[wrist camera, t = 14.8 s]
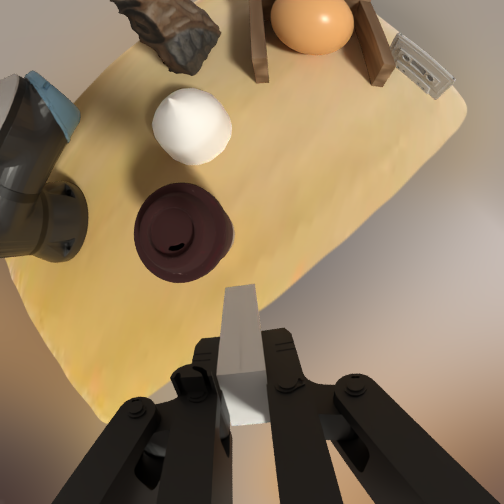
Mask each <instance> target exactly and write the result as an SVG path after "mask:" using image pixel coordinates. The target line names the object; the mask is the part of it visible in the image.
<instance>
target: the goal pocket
mask: <svg viewBox="0 0 504 504" xmlns="http://www.w3.org/2000/svg"><path fill="white" fill-rule="evenodd" d="M275 1H276V0H249V11H250V30H251V51H252V62H253V67H254V73H255V78H256V83H269V75H268V62H267V50H266V39H265V28H264V20H271V9H272V6H273V4H274V2H275ZM344 1H345V2H346V3H347V5H348V6H349V8H350V10H351V12H352V15H353V19H354V27H355V30H356V33H357V36H358V39H359V42H360V45H361V49H362V52H363V55H364V59H365V62H366V66H367V69H368V73H369V77H370V81H371V85H372V86H378V87H383V86H384V84H385V82H386V81H387V79H388V78H389V76H390V75H391V73H392V71H393V70H394V68H395V67H396V64H395V61H394V58H393V55H392V52H391V50H390V47H389V44H388V42H387V39H386V36H385V34H384V32H383V29H382V27H381V24H380V22H379V20H378V17H377V15H376V13H375V11H374V9H373V6H372V4H371V0H344Z"/></svg>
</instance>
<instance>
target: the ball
mask: <svg viewBox="0 0 504 504" xmlns="http://www.w3.org/2000/svg"><path fill="white" fill-rule="evenodd" d="M271 24H272V27H273V30H274V32H275V34H276V35H277V36H278V38H279V39H280V40H281V41H282V42H283V43H284V44H285V45H287V46H288V47H290V48H291V49H293V50H296V51H298V52H300V53H304V54H309V55H324V54H329V53H332V52H334V51H337V50H338V49H340V48H341V47H343V46H344V45H345V44H346V43H347V42H348V41H349V39H350V37H351V35H352V33H353V29H354V19H353V15H352V12H351V10H350V8H349V6H348V5H347V3H346V2H345V1H344V0H276V1H275V2H274V4H273V6H272V9H271Z"/></svg>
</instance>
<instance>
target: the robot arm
mask: <svg viewBox="0 0 504 504" xmlns="http://www.w3.org/2000/svg"><path fill="white" fill-rule="evenodd" d="M24 78H25V79H24ZM24 78H22V77H20V76H18V75H16V74H13V75H11V76H8V77H7V78H4V79H2V80H0V258H7V257H16V256H25V255H33V256H36V257H38V258H41V259H44V260H46V261H49V262H53V263H58V262H66V261H68V260H70V259H72V258H73V257H74V256H75V255H76V254H77V253H78V252H79V250H80V249H81V247H82V245H83V242H84V240H85V237H86V233H87V227H88V209H87V204H86V200H85V197H84V195H83V193H82V192H81V190H80V189H79V188H78V187H77V186H76V185H74V184H72V183H69V182H65V181H55V182H51V183H47V184H45V183H46V181H47V179H48V177H49V175H50V173H51V171H52V169H53V167H54V165H55V163H56V161H57V160H58V158H59V156H60V154H61V152H62V151H63V149H64V147H65V146H66V144H67V143H69V142H70V137H71V135H72V134H73V132H74V130H75V129H76V127H77V125H78V123H79V121H80V111H79V109H78V108H77V107H76V106H75V105H74V104H73V103H72V102H71V101H70V100H69V99H68V98H67V97H66V96H65V95H64V94H62V93H61V92H60V91H59V90H58V89H56V88H55V87H54V86H53V85H51V84H50V83H49V82H48V81H46V80H45V79H44V78H43V77H42V76H41V75H39V74H38V73H37V72H35V71H30V72H29V73H28V74H26V75H25V77H24ZM170 379H171V381H172V383H173V386H174V388H175V390H176V393H177V395H178V397H177V398H175V399H174V400H171V401H168V402H164V403H160V404H154V403H153V401H152V400H151V399H149V398H146V397H135V398H131V399H130V400H128V401H126V402H125V403H124V404H123V405H122V406H121V407H120V408H119V410H118V411H117V412H116V414H115V415H114V417H113V418H112V419H111V421H110V422H109V423H108V425H107V426H106V428H105V429H104V430H103V432H102V433H101V435H100V436H99V437H98V439H97V440H96V441H95V443H94V444H93V446H92V447H91V448H90V450H89V451H88V453H87V454H86V455H85V457H84V458H83V460H82V461H81V463H80V464H79V465H78V467H77V468H76V470H75V471H74V472H73V474H72V475H71V477H70V478H69V479H68V481H67V482H66V484H65V485H64V487H63V488H62V489H61V491H60V492H59V494H58V495H57V496H56V498H55V499H54V501H53V502H52V504H232V435H231V432H230V421H231V424H232V426H238V425H249V424H258V423H267V422H271V431H272V439H273V448H274V456H275V465H276V473H277V481H278V489H279V498H280V504H343V501H342V497H341V493H340V490H339V486H338V482H337V479H336V475H335V471H334V468H333V464H332V461H331V457H330V454H329V450H328V447H327V443H326V440H331V442H332V443H333V445H334V446H335V448H336V449H337V451H338V452H339V454H340V455H341V456H342V458H343V459H344V461H345V462H346V464H347V465H348V467H349V468H350V469H351V471H352V472H353V473H354V475H355V476H356V478H357V479H358V481H359V482H360V483H361V485H362V486H363V488H364V489H365V490H366V492H367V493H368V494H369V495H370V497H371V499H372V500H373V501H374V503H375V504H500V503H499V502H498V501H497V500H496V499H495V498H494V497H493V496H492V495H491V494H490V493H489V492H488V491H487V490H485V489H484V488H483V487H482V486H481V485H480V484H479V483H478V482H477V481H476V480H475V479H474V478H473V477H472V476H471V475H470V474H469V473H468V472H467V471H466V470H465V469H464V468H463V467H462V466H461V465H460V464H459V463H458V462H457V461H455V460H454V459H453V458H452V457H451V456H450V455H449V454H448V453H447V452H446V451H445V450H444V449H443V448H442V447H441V446H440V445H439V444H438V443H437V442H436V441H435V440H434V439H433V438H432V437H431V436H430V435H429V434H428V433H427V432H426V431H425V430H424V429H423V428H422V427H421V426H420V425H419V424H418V423H416V422H415V421H414V420H413V419H412V418H411V417H410V416H409V415H408V414H407V413H406V412H405V411H404V410H403V409H402V408H401V407H400V406H399V405H398V404H397V403H396V402H395V401H394V400H393V399H392V398H391V397H390V396H389V395H388V394H387V393H386V392H385V391H384V390H383V389H382V388H381V387H380V386H379V385H378V384H377V383H376V382H375V381H374V380H373V379H371V378H370V377H368V376H366V375H363V374H349V375H346V376H343V377H342V378H340V379H339V380H338V381H337V382H336V384H335V385H323V384H317V383H314V382H312V381H310V380H308V379H307V378H306V377H305V376H304V374H303V372H302V368H301V365H300V361H299V358H298V355H297V351H296V348H295V345H294V341H293V338H292V334H291V333H290V332H289V331H288V330H286V329H285V328H279V329H272V330H265V331H261V326H260V319H259V311H258V304H257V297H256V290H255V284H250V285H243V286H235V287H227V288H225V296H224V305H223V315H222V324H221V333H220V337H213V338H202V339H201V340H200V341H199V342H198V344H197V345H196V346H195V350H194V355H193V359H192V364H188V365H184V366H182V367H180V368H178V369H177V370H176V371H174V372H173V374H172V375H171V377H170Z"/></svg>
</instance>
